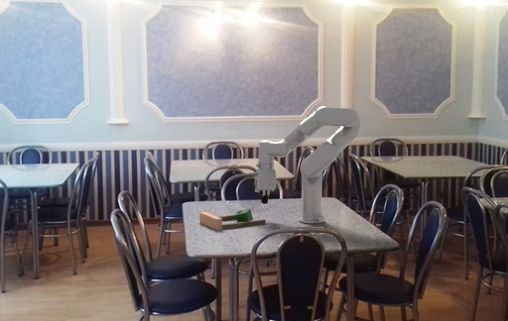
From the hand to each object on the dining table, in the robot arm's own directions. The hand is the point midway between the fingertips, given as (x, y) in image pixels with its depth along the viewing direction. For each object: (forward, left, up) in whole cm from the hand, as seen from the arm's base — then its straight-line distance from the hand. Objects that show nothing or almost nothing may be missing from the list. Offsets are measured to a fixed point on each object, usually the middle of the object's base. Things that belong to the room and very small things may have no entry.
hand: (264, 203), depth 298 cm
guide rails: (-1, +16, -8) cm, 18 cm away
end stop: (-1, +29, -8) cm, 30 cm away
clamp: (-1, +12, -8) cm, 15 cm away
